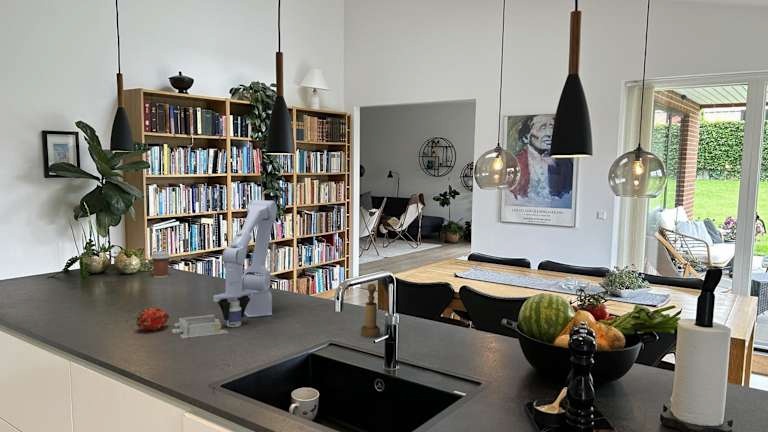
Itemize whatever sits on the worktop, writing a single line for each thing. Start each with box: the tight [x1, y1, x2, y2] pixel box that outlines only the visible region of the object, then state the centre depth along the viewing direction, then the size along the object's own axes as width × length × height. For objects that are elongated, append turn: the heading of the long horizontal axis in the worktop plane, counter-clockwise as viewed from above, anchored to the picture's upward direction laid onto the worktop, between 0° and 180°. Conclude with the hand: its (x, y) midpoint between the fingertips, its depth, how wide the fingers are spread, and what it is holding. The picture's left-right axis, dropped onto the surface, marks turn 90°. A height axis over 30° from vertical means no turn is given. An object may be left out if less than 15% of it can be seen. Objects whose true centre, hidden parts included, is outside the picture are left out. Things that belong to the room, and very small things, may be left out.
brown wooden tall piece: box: [360, 283, 381, 339], centre depth 187 cm, size 7×6×18 cm
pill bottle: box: [225, 299, 242, 328], centre depth 194 cm, size 5×5×9 cm
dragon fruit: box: [136, 306, 170, 332], centre depth 186 cm, size 8×8×12 cm
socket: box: [171, 314, 229, 339], centre depth 188 cm, size 17×16×3 cm
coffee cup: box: [150, 251, 171, 279], centre depth 270 cm, size 9×9×12 cm
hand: (233, 318), depth 194 cm, fingers closed on pill bottle, 5 cm apart
